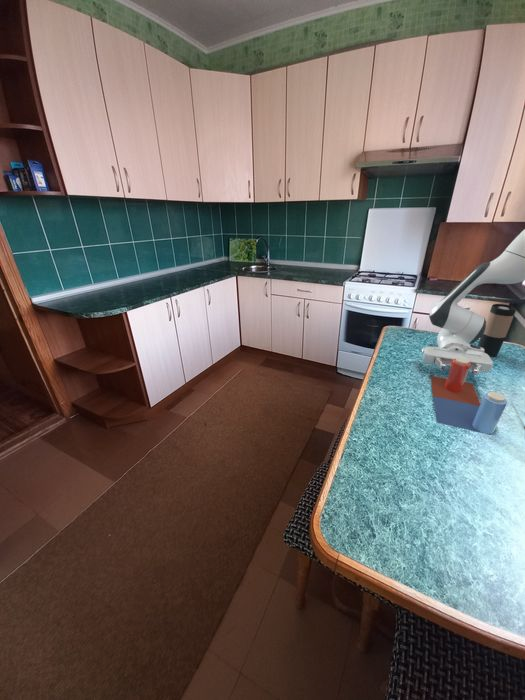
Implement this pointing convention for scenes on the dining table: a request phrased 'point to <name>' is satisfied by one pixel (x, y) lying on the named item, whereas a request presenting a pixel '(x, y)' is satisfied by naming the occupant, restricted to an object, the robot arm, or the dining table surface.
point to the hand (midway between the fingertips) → (458, 370)
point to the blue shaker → (489, 412)
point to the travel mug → (496, 328)
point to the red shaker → (457, 374)
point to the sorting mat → (455, 404)
